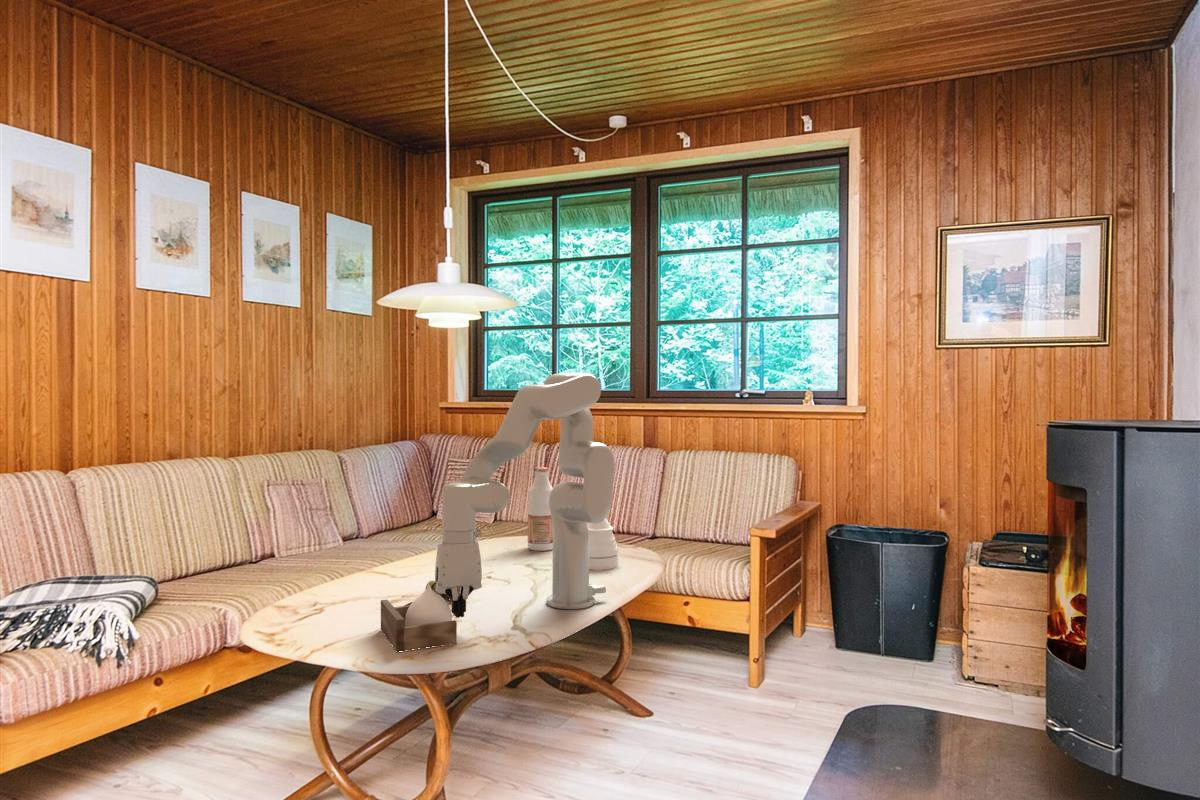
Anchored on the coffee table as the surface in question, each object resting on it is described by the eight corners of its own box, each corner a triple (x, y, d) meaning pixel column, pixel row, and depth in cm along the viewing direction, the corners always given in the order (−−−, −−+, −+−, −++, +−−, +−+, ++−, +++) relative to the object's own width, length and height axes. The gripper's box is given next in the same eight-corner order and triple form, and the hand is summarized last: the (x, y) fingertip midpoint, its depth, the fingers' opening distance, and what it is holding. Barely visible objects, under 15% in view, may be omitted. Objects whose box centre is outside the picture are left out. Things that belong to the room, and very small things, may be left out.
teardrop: (409, 628, 185) (409, 577, 185) (456, 628, 186) (457, 577, 185) (398, 643, 174) (398, 589, 174) (448, 643, 174) (448, 589, 174)
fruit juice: (522, 547, 275) (522, 467, 274) (545, 544, 281) (545, 465, 280) (537, 552, 267) (537, 469, 267) (560, 549, 273) (560, 468, 273)
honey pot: (577, 560, 257) (577, 504, 256) (617, 560, 257) (617, 504, 257) (577, 569, 244) (578, 511, 243) (619, 569, 244) (619, 511, 244)
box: (436, 622, 189) (436, 593, 189) (456, 644, 174) (456, 612, 174) (380, 630, 183) (380, 600, 183) (396, 652, 168) (396, 620, 168)
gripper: (484, 531, 189) (484, 607, 189) (422, 536, 182) (422, 615, 183) (495, 537, 182) (494, 616, 183) (431, 542, 176) (430, 624, 176)
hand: (458, 615), depth 183 cm, fingers closed
